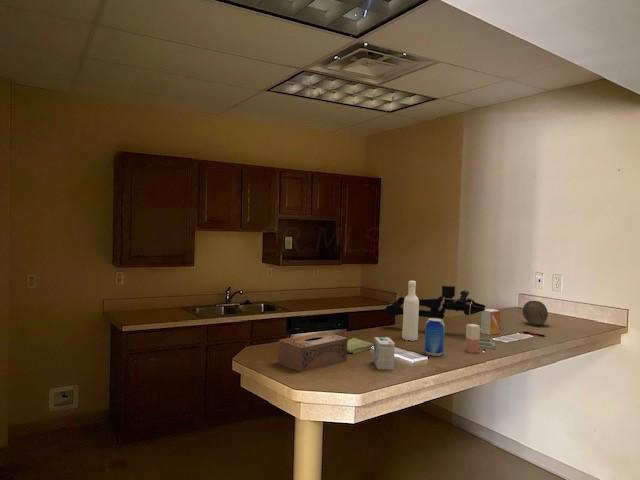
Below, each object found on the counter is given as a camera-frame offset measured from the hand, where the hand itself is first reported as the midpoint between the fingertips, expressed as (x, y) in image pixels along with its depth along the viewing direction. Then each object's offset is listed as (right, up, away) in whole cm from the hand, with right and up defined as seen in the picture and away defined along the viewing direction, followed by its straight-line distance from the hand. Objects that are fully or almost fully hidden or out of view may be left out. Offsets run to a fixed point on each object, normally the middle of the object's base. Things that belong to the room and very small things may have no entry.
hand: (485, 307), depth 242 cm
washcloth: (-71, -16, -25) cm, 77 cm away
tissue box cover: (-90, -16, -48) cm, 103 cm away
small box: (+8, -17, +15) cm, 23 cm away
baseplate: (-6, -17, -11) cm, 21 cm away
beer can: (-34, -17, -30) cm, 49 cm away
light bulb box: (-60, -17, -50) cm, 80 cm away
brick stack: (-15, -17, -24) cm, 33 cm away
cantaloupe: (+44, -17, +40) cm, 62 cm away
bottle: (-40, -16, -4) cm, 43 cm away
